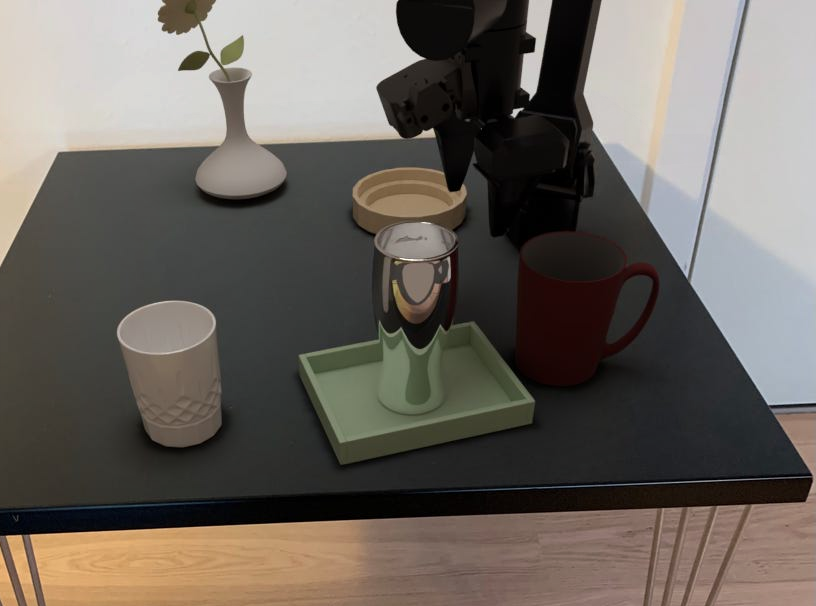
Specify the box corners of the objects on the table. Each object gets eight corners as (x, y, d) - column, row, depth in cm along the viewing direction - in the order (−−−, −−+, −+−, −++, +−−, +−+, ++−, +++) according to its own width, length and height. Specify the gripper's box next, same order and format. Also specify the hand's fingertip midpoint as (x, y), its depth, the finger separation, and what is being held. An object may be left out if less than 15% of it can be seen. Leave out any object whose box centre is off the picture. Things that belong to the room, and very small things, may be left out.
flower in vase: (268, 163, 119) (250, -52, 102) (301, 196, 112) (287, -30, 95) (173, 183, 116) (138, -37, 99) (200, 219, 108) (167, -13, 91)
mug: (634, 341, 86) (659, 234, 79) (644, 397, 80) (672, 286, 72) (507, 334, 88) (519, 229, 80) (507, 388, 81) (520, 279, 74)
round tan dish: (440, 184, 113) (441, 160, 111) (482, 230, 104) (484, 206, 102) (339, 200, 110) (338, 176, 108) (373, 249, 101) (373, 224, 99)
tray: (472, 342, 87) (474, 320, 85) (532, 423, 77) (535, 401, 76) (299, 376, 84) (298, 354, 82) (340, 465, 74) (339, 442, 73)
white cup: (142, 400, 82) (121, 303, 75) (229, 393, 82) (216, 297, 75) (135, 456, 76) (111, 357, 69) (229, 449, 76) (215, 350, 69)
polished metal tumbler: (446, 422, 77) (456, 264, 67) (366, 414, 78) (364, 258, 68) (454, 375, 82) (465, 221, 72) (379, 368, 83) (379, 216, 73)
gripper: (350, 0, 73) (354, 184, 84) (436, 73, 60) (428, 280, 71) (476, -16, 76) (464, 165, 86) (586, 51, 62) (556, 255, 73)
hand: (474, 212), depth 79 cm, fingers open, 9 cm apart
